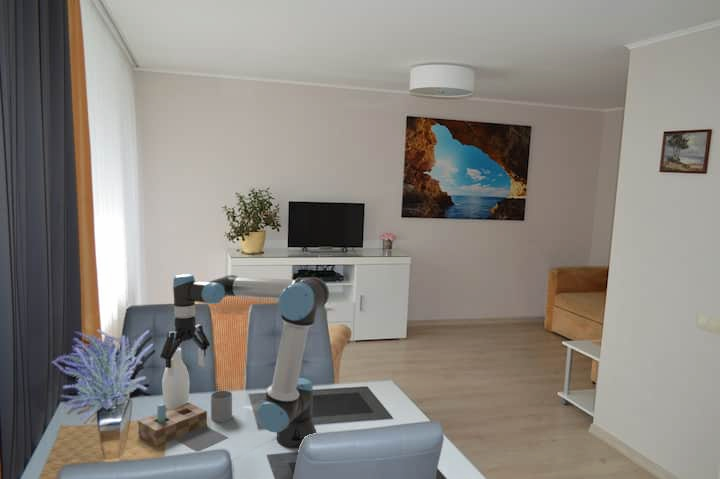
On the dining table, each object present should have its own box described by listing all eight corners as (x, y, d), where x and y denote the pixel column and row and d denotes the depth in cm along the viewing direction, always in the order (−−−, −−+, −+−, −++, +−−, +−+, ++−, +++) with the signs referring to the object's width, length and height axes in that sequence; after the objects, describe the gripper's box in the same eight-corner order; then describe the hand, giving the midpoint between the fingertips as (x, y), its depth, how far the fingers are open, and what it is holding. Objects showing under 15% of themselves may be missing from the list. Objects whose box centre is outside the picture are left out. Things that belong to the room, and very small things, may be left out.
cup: (226, 423, 216) (226, 399, 215) (207, 421, 217) (207, 397, 216) (235, 414, 224) (235, 391, 223) (217, 412, 226) (217, 389, 225)
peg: (167, 435, 205) (167, 405, 204) (160, 437, 203) (160, 407, 201) (163, 432, 207) (162, 402, 206) (156, 435, 205) (155, 405, 203)
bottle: (179, 399, 238) (178, 343, 235) (195, 406, 231) (194, 348, 228) (156, 407, 229) (156, 349, 226) (172, 414, 222) (172, 355, 219)
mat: (228, 438, 204) (228, 437, 204) (197, 452, 193) (197, 451, 193) (206, 427, 212) (206, 426, 212) (174, 440, 202) (174, 439, 201)
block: (206, 425, 214) (206, 411, 213) (156, 446, 197) (156, 430, 196) (188, 416, 221) (188, 402, 220) (138, 435, 204) (138, 420, 203)
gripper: (205, 308, 214) (207, 359, 217) (149, 321, 194) (151, 377, 197) (218, 310, 210) (219, 363, 212) (161, 324, 190) (163, 382, 192)
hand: (186, 370), depth 204 cm, fingers open, 13 cm apart
